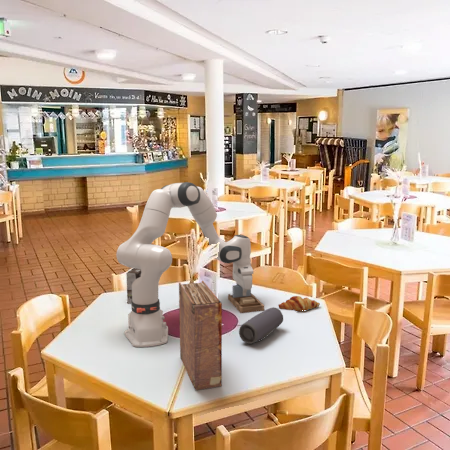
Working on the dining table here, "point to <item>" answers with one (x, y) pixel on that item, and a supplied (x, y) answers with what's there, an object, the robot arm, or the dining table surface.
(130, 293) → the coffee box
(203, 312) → the book
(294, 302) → the croissant
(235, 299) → the wooden tray
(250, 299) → the offcut top
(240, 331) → the bluetooth speaker
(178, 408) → the dining table surface
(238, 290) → the blue-grey square slab
